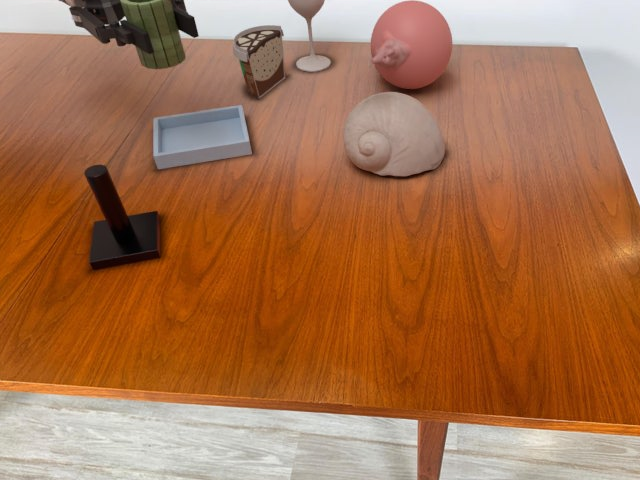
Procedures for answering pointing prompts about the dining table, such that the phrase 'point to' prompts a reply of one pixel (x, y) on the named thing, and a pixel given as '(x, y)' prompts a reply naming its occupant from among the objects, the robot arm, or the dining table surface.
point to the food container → (260, 58)
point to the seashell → (393, 135)
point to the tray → (200, 137)
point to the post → (119, 226)
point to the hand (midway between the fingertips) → (171, 35)
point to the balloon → (411, 44)
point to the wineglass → (310, 35)
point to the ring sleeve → (156, 31)
